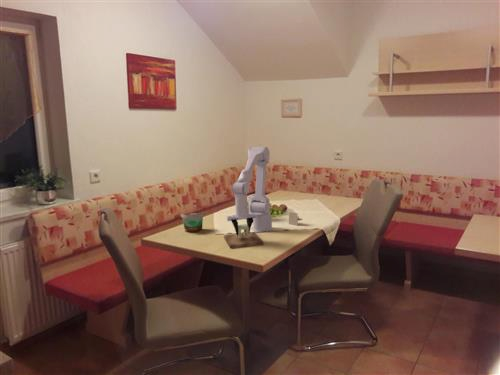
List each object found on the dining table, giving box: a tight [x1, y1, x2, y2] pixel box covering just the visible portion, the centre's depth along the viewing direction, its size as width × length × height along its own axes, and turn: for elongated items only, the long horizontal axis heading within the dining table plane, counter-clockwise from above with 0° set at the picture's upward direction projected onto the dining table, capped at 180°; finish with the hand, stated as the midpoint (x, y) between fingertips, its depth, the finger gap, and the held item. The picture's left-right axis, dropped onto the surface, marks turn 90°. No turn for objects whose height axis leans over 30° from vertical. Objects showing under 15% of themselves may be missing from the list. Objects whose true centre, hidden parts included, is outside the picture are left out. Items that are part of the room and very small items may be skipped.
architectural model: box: [288, 211, 303, 227], centre depth 228 cm, size 3×7×7 cm, turn 50°
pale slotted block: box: [235, 223, 249, 239], centre depth 203 cm, size 5×5×6 cm
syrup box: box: [247, 193, 260, 214], centre depth 239 cm, size 6×6×14 cm
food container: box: [180, 211, 205, 234], centre depth 222 cm, size 12×6×10 cm, turn 105°
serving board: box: [223, 231, 264, 249], centre depth 204 cm, size 16×16×2 cm
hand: (242, 233), depth 203 cm, fingers closed on pale slotted block, 5 cm apart
